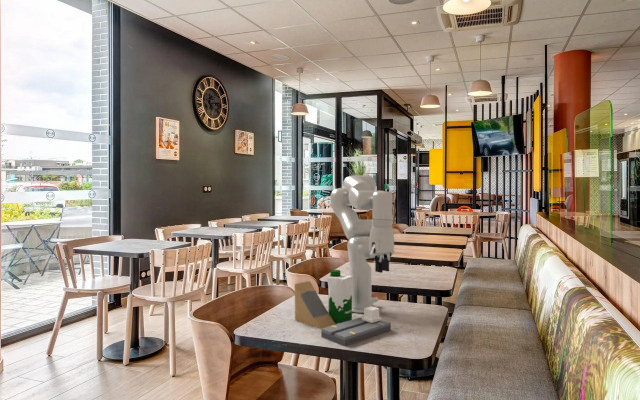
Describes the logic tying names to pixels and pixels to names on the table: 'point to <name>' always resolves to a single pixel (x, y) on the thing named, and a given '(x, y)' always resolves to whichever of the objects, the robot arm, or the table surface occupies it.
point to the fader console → (354, 331)
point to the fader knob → (371, 314)
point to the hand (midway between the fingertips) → (382, 270)
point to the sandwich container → (310, 307)
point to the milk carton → (340, 296)
